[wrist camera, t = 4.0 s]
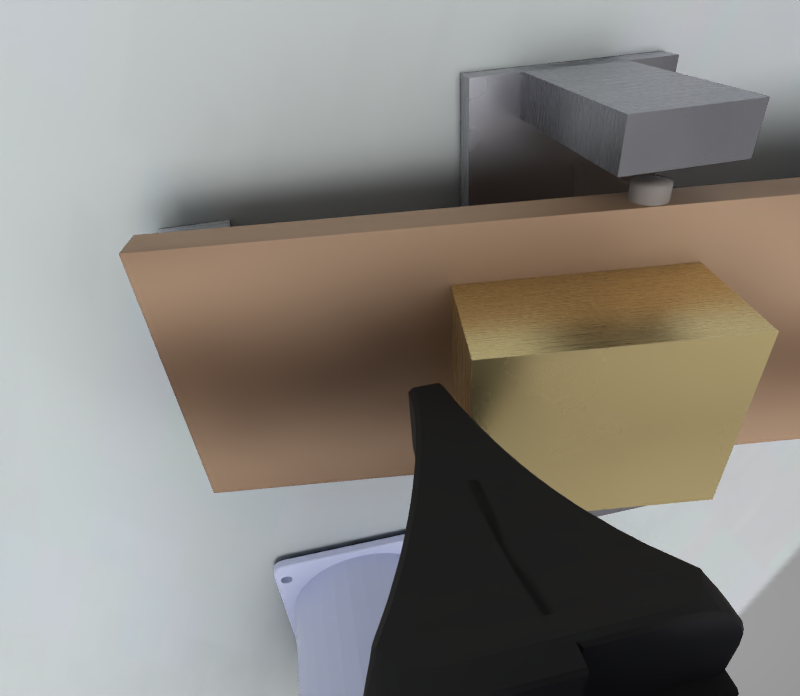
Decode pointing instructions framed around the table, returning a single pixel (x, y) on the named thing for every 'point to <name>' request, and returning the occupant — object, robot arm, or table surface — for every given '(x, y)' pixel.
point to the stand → (591, 129)
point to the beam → (421, 313)
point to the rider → (611, 378)
